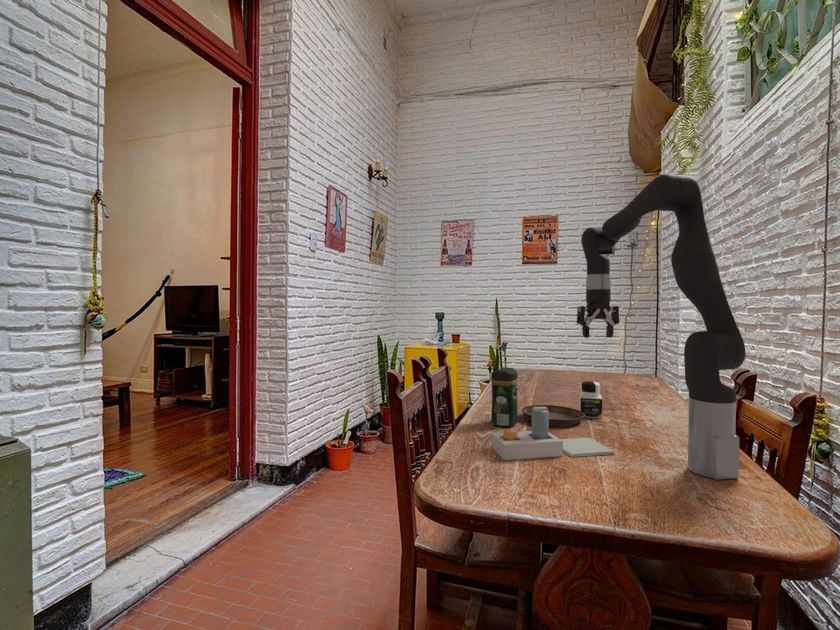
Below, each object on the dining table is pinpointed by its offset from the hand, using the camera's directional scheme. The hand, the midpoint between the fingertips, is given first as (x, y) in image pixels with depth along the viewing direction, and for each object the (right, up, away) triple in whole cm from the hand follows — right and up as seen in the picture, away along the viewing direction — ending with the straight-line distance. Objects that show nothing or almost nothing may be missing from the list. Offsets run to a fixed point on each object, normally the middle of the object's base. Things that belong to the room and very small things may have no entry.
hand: (598, 337), depth 145 cm
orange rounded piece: (-35, -26, -28) cm, 52 cm away
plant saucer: (-14, -29, +5) cm, 32 cm away
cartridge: (-27, -29, -27) cm, 48 cm away
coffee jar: (-31, -29, 0) cm, 42 cm away
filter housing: (-31, -29, -27) cm, 50 cm away
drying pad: (-15, -29, -25) cm, 41 cm away
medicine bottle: (+2, -29, +10) cm, 30 cm away
